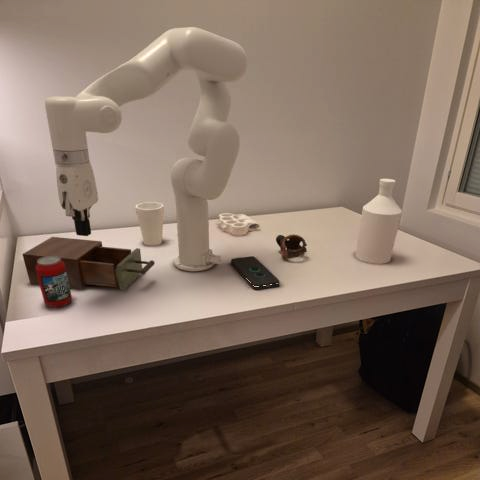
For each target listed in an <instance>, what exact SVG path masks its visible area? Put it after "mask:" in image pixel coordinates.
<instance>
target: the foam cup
mask: <svg viewBox="0 0 480 480" xmlns="http://www.w3.org/2000/svg"><path fill="white" fill-rule="evenodd" d="M164 213H165V206H164V204H163V203H162V202H157V201H147V202H141V203H140V202H139V203H137V204H136V205H135V214H136V216H137V220H138V224H139V228H140V233H141V235H142V236H141V237H142V241H143V244H144V245H146V246H148V247H150V246H152V247H153V246H159V245H161V244H162V243H163V232H164V231H163V229H164Z"/></svg>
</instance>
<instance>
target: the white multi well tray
mask: <svg viewBox="0 0 480 480" xmlns="http://www.w3.org/2000/svg"><path fill="white" fill-rule="evenodd" d="M215 224H216V225H218V226H219V228H220V229H222V230H223V232H225V233H228V234H231V235H232V236H238V237H239V236H245V235H247V233H248V232H253V231H256V230H258V229H260V226H261V225H260V223H259V222H257V221H255V220H254V219H252V218H251V217H250V216H248V215H246V214H245V213H243V214H242V213H241V214H235V213H234V214H233V213H228V212H226V213H220V214H219V215H218V222H216V223H215Z"/></svg>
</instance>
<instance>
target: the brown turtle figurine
mask: <svg viewBox="0 0 480 480" xmlns="http://www.w3.org/2000/svg"><path fill="white" fill-rule="evenodd" d="M275 242H276V244H277V245H278V247H279V249H280V252H282V255H281V258H282V259H283V260H284V261H286V260H288V259H295V258H300V256H303V255H304V254H305V253H308V250H307V246H308V244H307V242H306V240H305V239H304V237H303V236H301V235H299V234H289V235H287V236H284V235H283V234H279V235H277V236H276V237H275ZM301 242H302V245H301Z"/></svg>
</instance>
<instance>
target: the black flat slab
mask: <svg viewBox="0 0 480 480" xmlns="http://www.w3.org/2000/svg"><path fill="white" fill-rule="evenodd" d="M230 265H231V266H232V267H233V268H234V270H235V271H236V272H237V273H238V274H239V275H240V276H241V277H242V278H243V280H244V281H245V282H246V283H247V284H248V285H249V286H250V287H251V289H252V290H254V291H258V290H265V289H271V288H278V287H279V286H280V280H279V278H278V277H276V276H275V275H274V273H272V272H271V270H269V269H268V268H267V267H266V266H265V265H264V264H263V263H262V262H261V261H260V260H258V259H257V257H255V256H254V255H250V256H249V255H248V256H242V257H235V258H234V257H233V258H231V259H230ZM246 278H247V279H248V280H249V281H250V282H251V283H250V282H249V281H248V280H247V279H246ZM276 283H279V284H276ZM270 284H272V285H270ZM253 285H254V286H259V287H254V286H253ZM263 285H266V286H263Z"/></svg>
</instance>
